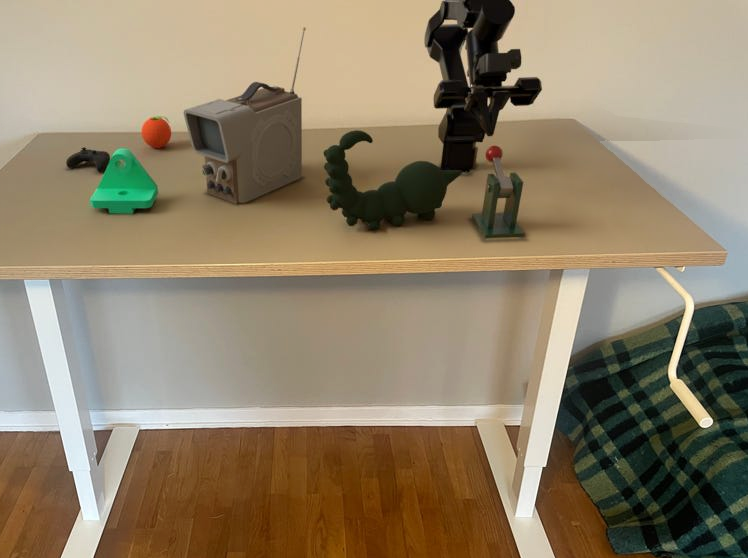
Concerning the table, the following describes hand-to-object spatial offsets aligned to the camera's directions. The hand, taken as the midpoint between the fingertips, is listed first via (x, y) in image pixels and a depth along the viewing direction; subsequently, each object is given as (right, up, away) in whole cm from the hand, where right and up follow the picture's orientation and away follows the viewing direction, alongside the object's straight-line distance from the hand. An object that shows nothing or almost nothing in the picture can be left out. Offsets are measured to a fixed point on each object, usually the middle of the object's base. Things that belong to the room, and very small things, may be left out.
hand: (490, 135), depth 135 cm
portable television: (-45, -6, +18) cm, 48 cm away
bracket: (+1, -18, -1) cm, 18 cm away
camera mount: (-70, -11, +12) cm, 71 cm away
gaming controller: (-81, +2, +30) cm, 86 cm away
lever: (0, -8, -2) cm, 9 cm away
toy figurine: (-18, -16, +2) cm, 24 cm away
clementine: (-67, +9, +40) cm, 78 cm away
